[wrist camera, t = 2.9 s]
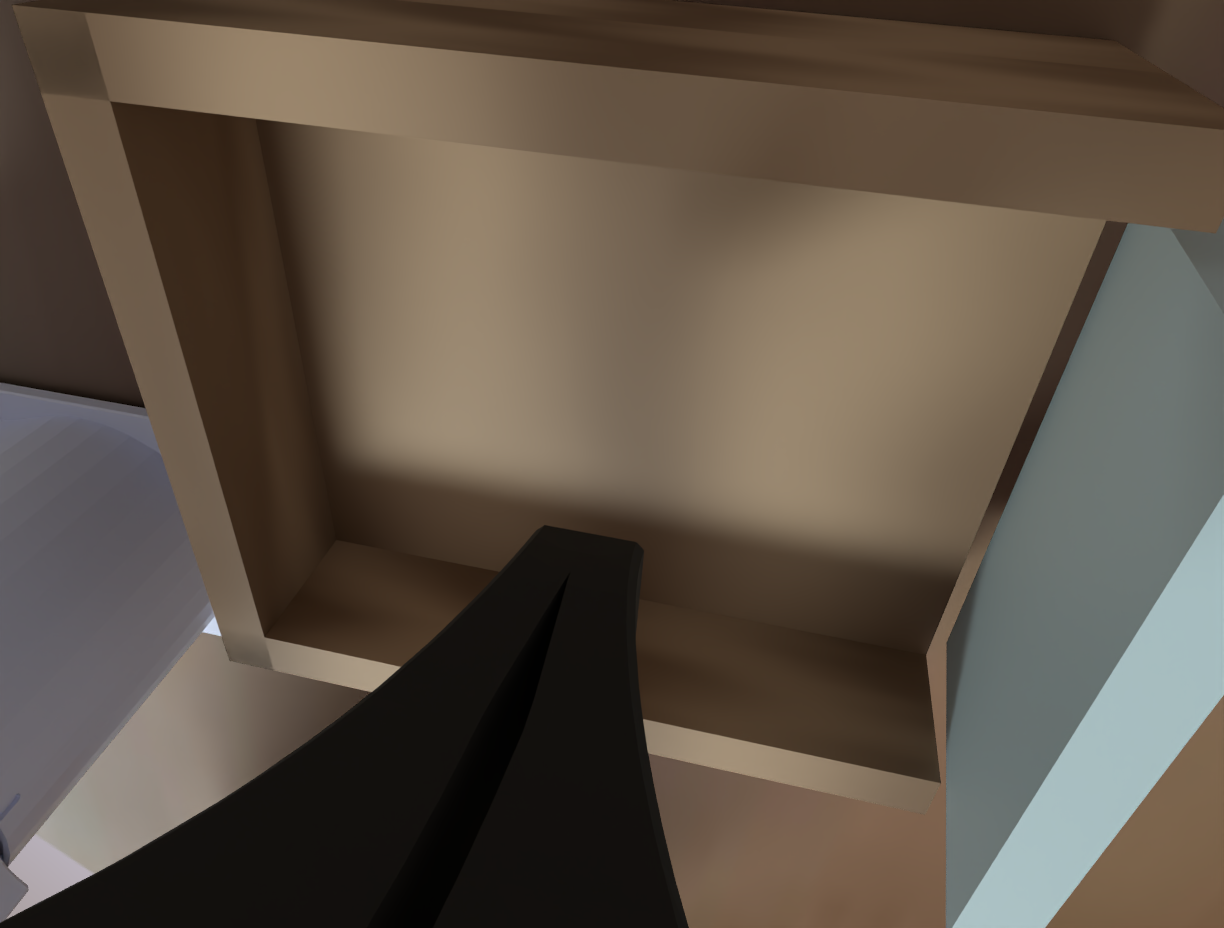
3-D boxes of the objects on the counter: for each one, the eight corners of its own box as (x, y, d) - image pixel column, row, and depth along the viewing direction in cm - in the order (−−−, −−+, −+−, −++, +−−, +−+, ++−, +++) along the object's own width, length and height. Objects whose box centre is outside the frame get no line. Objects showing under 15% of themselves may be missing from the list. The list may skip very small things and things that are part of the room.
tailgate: (947, 628, 17) (946, 938, 12) (1138, 177, 12) (1280, 404, 7) (997, 641, 17) (1017, 962, 12) (1218, 188, 11) (1425, 431, 6)
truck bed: (351, 499, 22) (229, 660, 17) (260, -37, 14) (11, 4, 10) (904, 603, 20) (925, 814, 15) (1114, 40, 12) (1266, 133, 8)
